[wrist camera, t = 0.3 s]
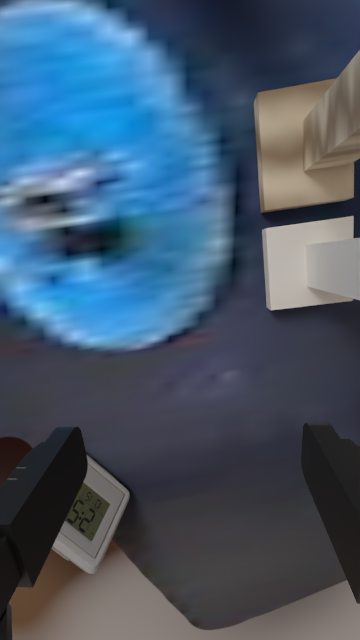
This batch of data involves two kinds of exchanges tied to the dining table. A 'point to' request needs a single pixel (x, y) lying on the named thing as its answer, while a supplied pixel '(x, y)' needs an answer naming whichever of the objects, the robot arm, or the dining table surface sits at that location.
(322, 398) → the dining table surface
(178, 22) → the dining table surface
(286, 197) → the marbled pedestal stand
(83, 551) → the digital clock
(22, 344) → the dining table surface
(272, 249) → the white column stand
